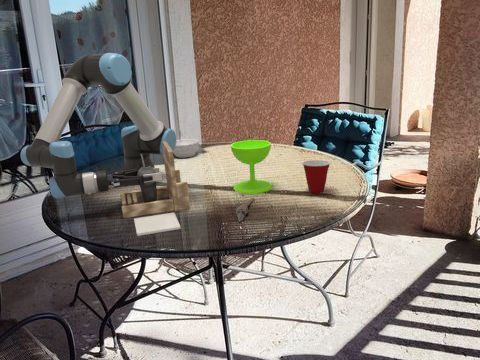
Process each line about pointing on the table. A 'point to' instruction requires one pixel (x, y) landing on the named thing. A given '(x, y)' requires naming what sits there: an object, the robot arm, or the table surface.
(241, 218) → the natural artifact
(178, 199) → the pine rack
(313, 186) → the plastic cup
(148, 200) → the beverage cup
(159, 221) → the white tile
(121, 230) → the table surface
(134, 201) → the plywood offcuts
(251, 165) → the wineglass
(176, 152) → the paper bowls
